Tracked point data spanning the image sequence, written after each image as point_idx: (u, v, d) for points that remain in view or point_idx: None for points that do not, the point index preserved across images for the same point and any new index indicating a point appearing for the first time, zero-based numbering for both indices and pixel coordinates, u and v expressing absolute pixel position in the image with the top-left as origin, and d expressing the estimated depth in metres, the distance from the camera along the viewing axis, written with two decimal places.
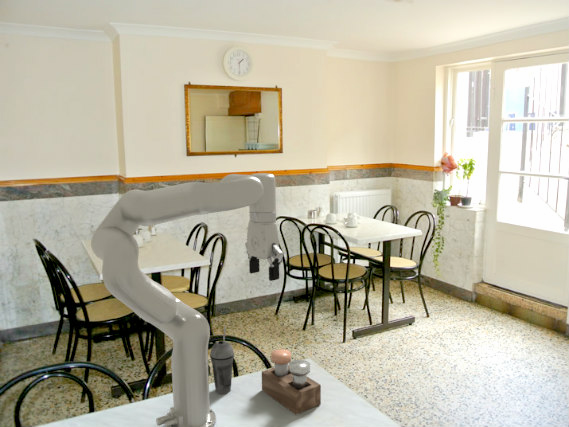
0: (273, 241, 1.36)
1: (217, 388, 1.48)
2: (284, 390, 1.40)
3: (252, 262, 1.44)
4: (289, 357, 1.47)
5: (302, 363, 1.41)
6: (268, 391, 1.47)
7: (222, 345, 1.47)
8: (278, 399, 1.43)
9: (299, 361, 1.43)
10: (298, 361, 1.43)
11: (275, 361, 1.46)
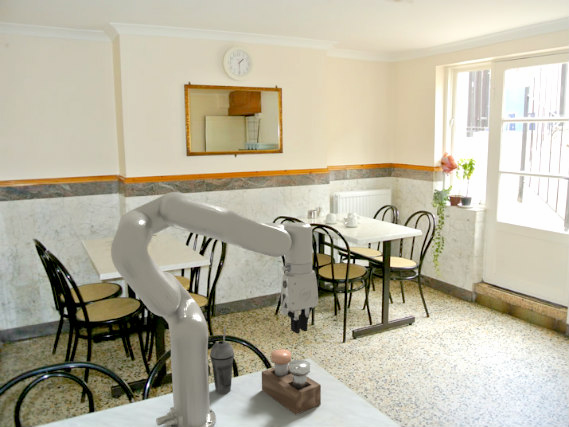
0: None
1: (217, 388, 1.48)
2: (284, 390, 1.40)
3: None
4: (289, 357, 1.47)
5: (302, 363, 1.41)
6: (268, 391, 1.47)
7: (222, 345, 1.47)
8: (278, 399, 1.43)
9: (299, 361, 1.43)
10: (298, 361, 1.43)
11: (275, 361, 1.46)
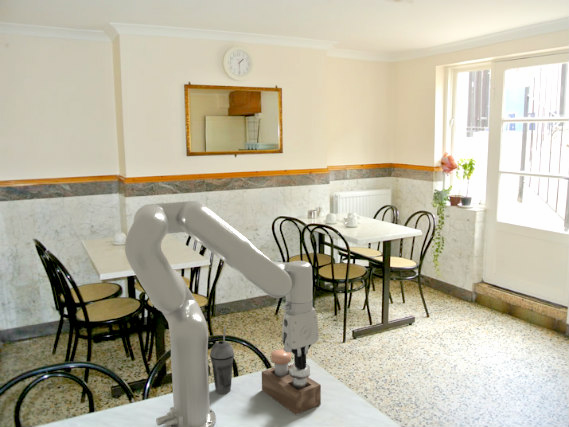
0: None
1: (217, 388, 1.48)
2: (284, 390, 1.40)
3: None
4: (289, 357, 1.47)
5: None
6: (268, 391, 1.47)
7: (222, 345, 1.47)
8: (278, 399, 1.43)
9: None
10: None
11: (275, 361, 1.46)
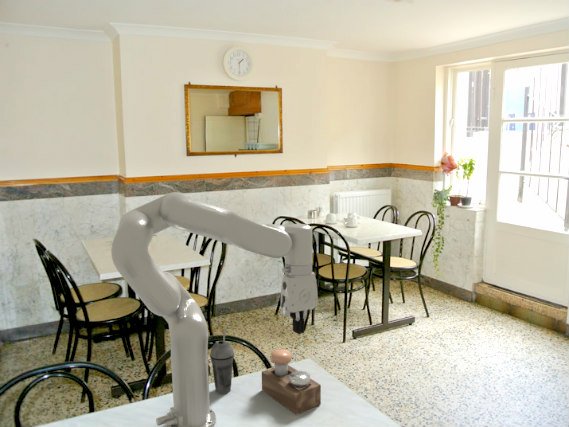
0: None
1: (217, 388, 1.48)
2: (284, 390, 1.40)
3: None
4: (289, 357, 1.47)
5: (302, 375, 1.42)
6: (268, 391, 1.47)
7: (222, 345, 1.47)
8: (278, 399, 1.43)
9: (299, 372, 1.43)
10: (298, 372, 1.43)
11: (275, 361, 1.46)
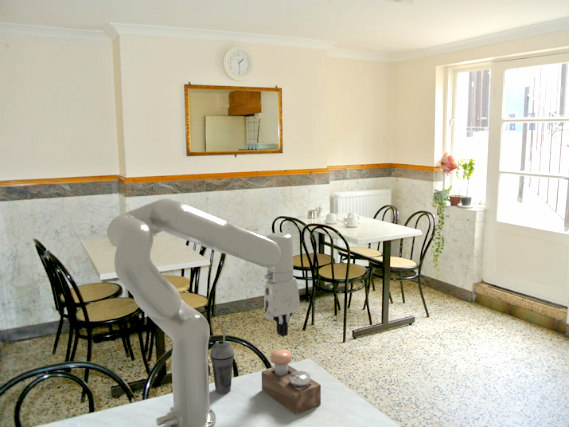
0: None
1: (217, 388, 1.48)
2: (284, 390, 1.40)
3: None
4: (289, 357, 1.47)
5: (302, 375, 1.42)
6: (268, 391, 1.47)
7: (222, 345, 1.47)
8: (278, 399, 1.43)
9: (299, 372, 1.43)
10: (298, 372, 1.43)
11: (275, 361, 1.46)
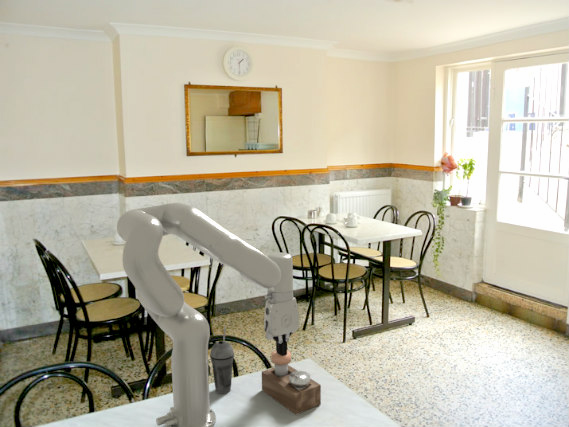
0: None
1: (217, 388, 1.48)
2: (284, 390, 1.40)
3: None
4: (289, 358, 1.47)
5: (302, 375, 1.42)
6: (268, 391, 1.47)
7: (222, 345, 1.47)
8: (278, 399, 1.43)
9: (299, 372, 1.43)
10: (298, 372, 1.43)
11: (275, 362, 1.46)
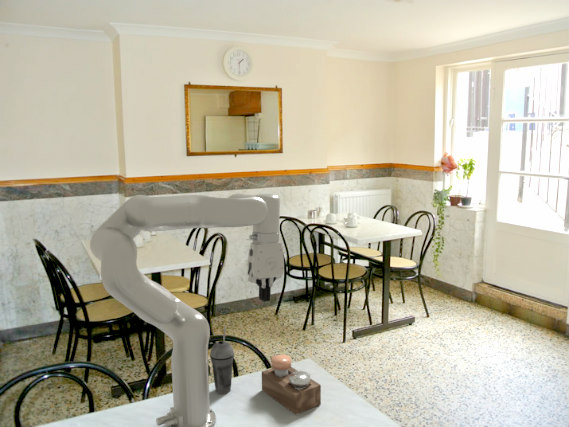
0: None
1: (217, 388, 1.48)
2: (284, 390, 1.40)
3: None
4: (289, 363, 1.47)
5: (302, 375, 1.42)
6: (268, 391, 1.47)
7: (222, 345, 1.47)
8: (278, 399, 1.43)
9: (299, 372, 1.43)
10: (298, 372, 1.43)
11: (275, 367, 1.46)
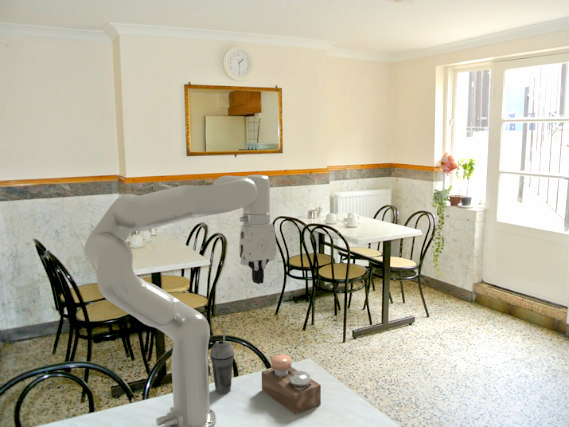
0: None
1: (217, 388, 1.48)
2: (284, 390, 1.40)
3: None
4: (289, 363, 1.47)
5: (302, 375, 1.42)
6: (268, 391, 1.47)
7: (222, 345, 1.47)
8: (278, 399, 1.43)
9: (299, 372, 1.43)
10: (298, 372, 1.43)
11: (275, 367, 1.46)
